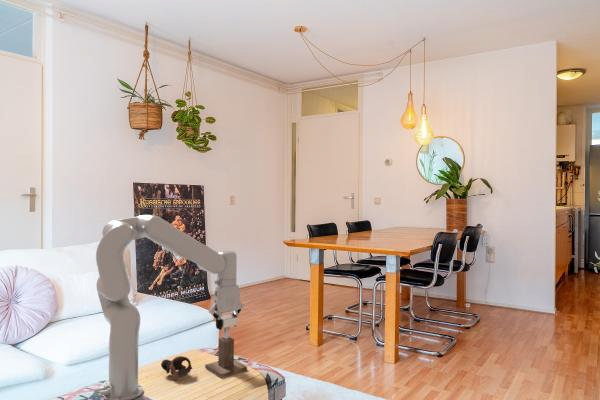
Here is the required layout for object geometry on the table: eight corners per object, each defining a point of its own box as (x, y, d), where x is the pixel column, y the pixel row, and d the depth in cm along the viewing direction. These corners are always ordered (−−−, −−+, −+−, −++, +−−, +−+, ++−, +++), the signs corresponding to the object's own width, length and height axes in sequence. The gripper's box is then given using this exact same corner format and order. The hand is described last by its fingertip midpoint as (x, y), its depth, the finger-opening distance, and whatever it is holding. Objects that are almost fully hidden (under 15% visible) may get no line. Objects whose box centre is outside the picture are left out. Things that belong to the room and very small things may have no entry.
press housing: (220, 378, 167) (220, 345, 167) (205, 368, 176) (205, 337, 176) (246, 370, 175) (247, 339, 174) (231, 361, 184) (231, 331, 184)
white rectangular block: (223, 358, 171) (223, 320, 171) (215, 354, 176) (216, 316, 175) (236, 355, 175) (237, 317, 175) (228, 350, 179) (229, 314, 179)
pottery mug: (192, 370, 175) (195, 356, 171) (185, 390, 166) (188, 376, 163) (163, 363, 174) (165, 348, 170) (154, 382, 166) (156, 368, 162)
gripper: (212, 286, 166) (211, 333, 167) (250, 281, 178) (249, 325, 178) (202, 283, 172) (202, 329, 172) (240, 278, 183) (239, 321, 184)
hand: (226, 326), depth 175 cm, fingers closed on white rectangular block, 6 cm apart
